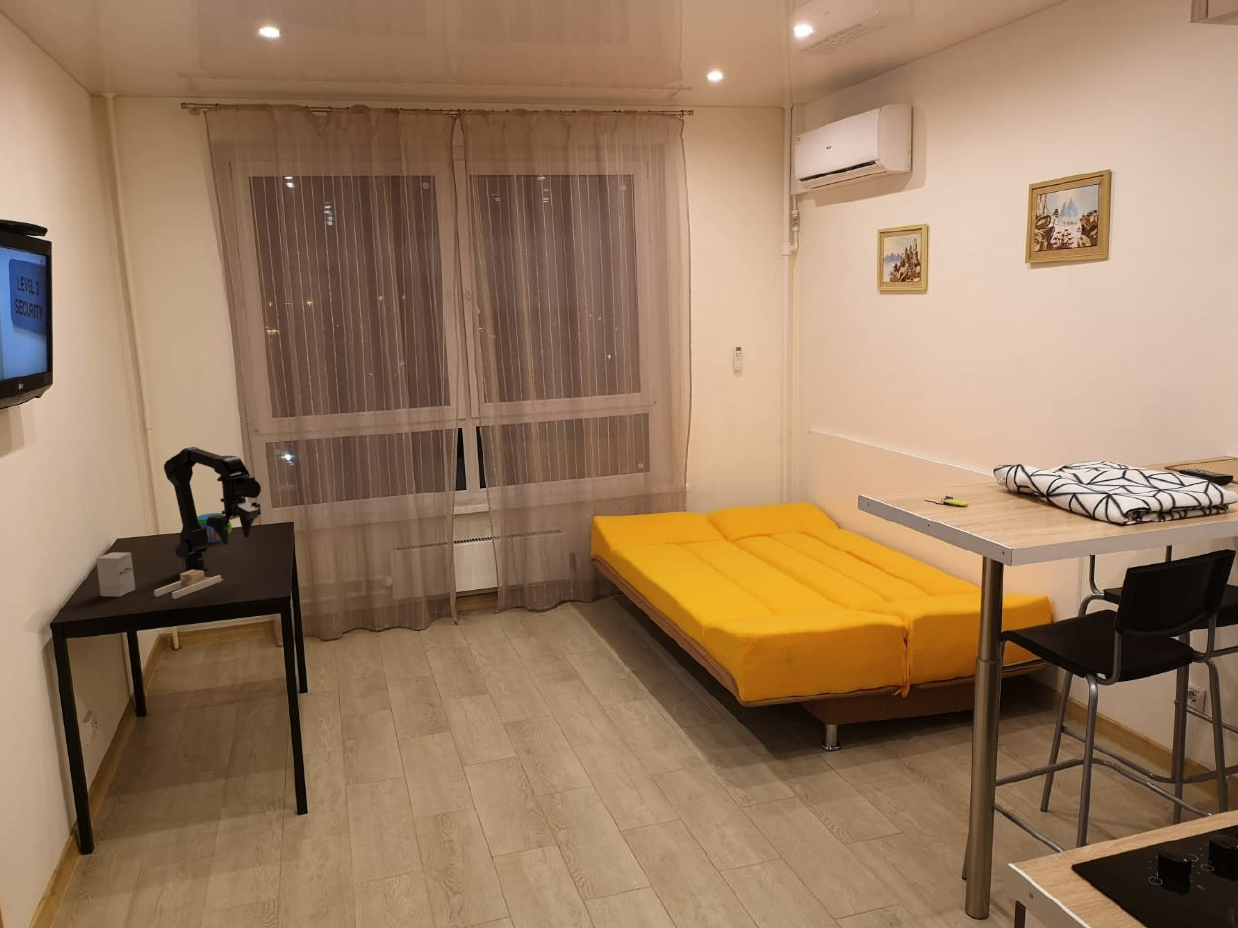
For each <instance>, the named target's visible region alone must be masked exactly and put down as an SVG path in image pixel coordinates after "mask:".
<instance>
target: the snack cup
mask: <svg viewBox="0 0 1238 928" xmlns="http://www.w3.org/2000/svg"><path fill="white" fill-rule="evenodd" d="M214 515H223V516H225V514H222V512H213V513H212V512H211V513H204V514H201V515H200V514H199V515H197V518H198V523H199V525H200V526H201V527H202V528H206V529H207V535H208V537H209V539H208V544H214V543H215V544H216V543H219V542H222V540H221V538H220V537H219V535H218V534H217V532H216V531H215V530H214V529H213V528H212V527H210V526H207V521H206V520H207V518H208V517H210V516H214ZM228 525H230V527H229V528H228V530H227V532H228V533H229V534H230V533H231V532H232V530H233V528H232V523H231V520H229V523H228Z"/></svg>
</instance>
